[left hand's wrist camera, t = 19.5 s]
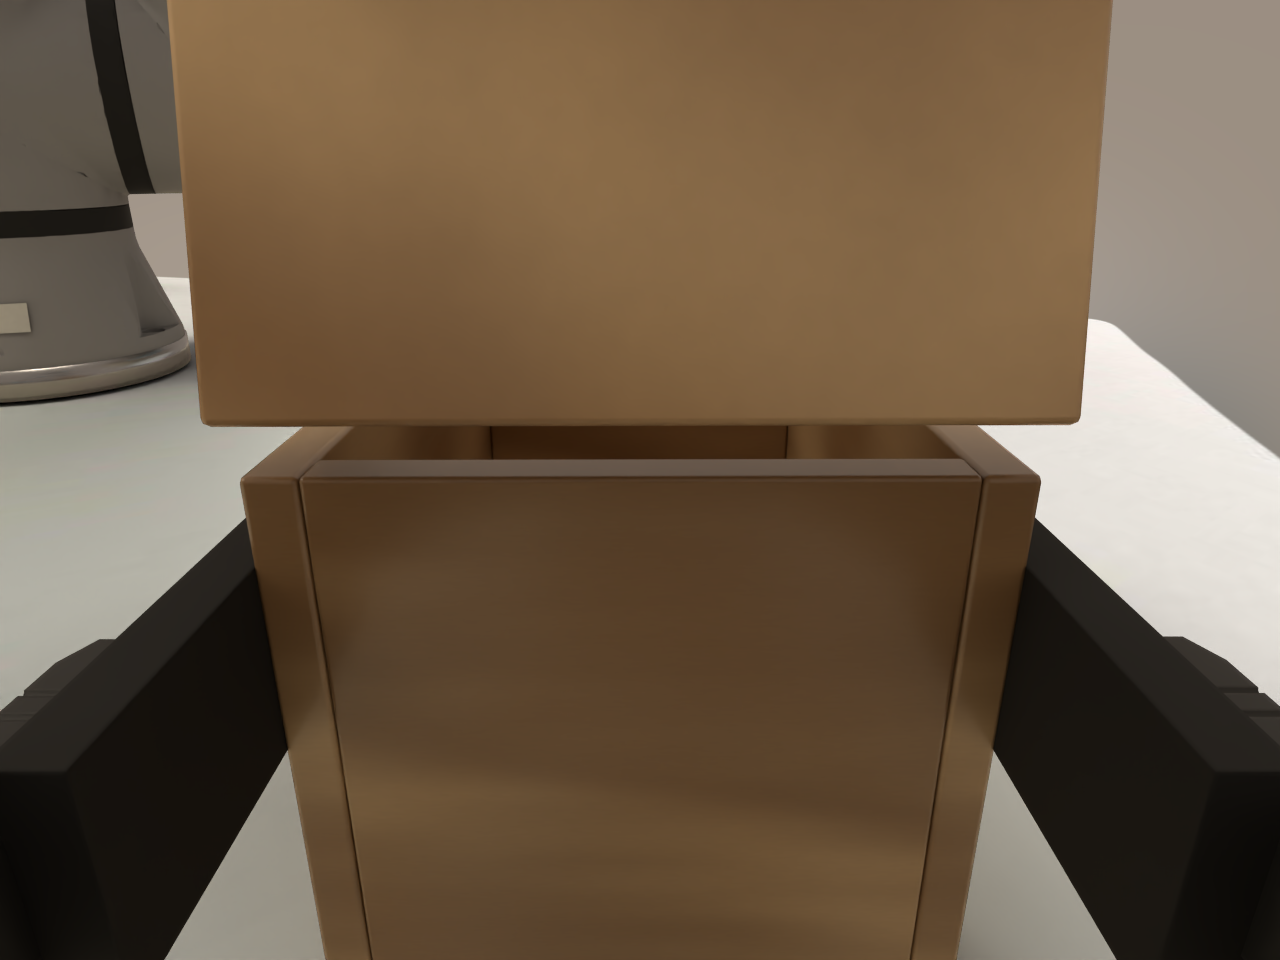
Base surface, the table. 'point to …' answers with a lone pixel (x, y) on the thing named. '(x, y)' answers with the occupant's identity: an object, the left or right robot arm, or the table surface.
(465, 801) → the chest
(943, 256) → the lid
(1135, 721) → the left robot arm
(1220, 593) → the table surface
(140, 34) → the right robot arm
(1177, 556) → the table surface
